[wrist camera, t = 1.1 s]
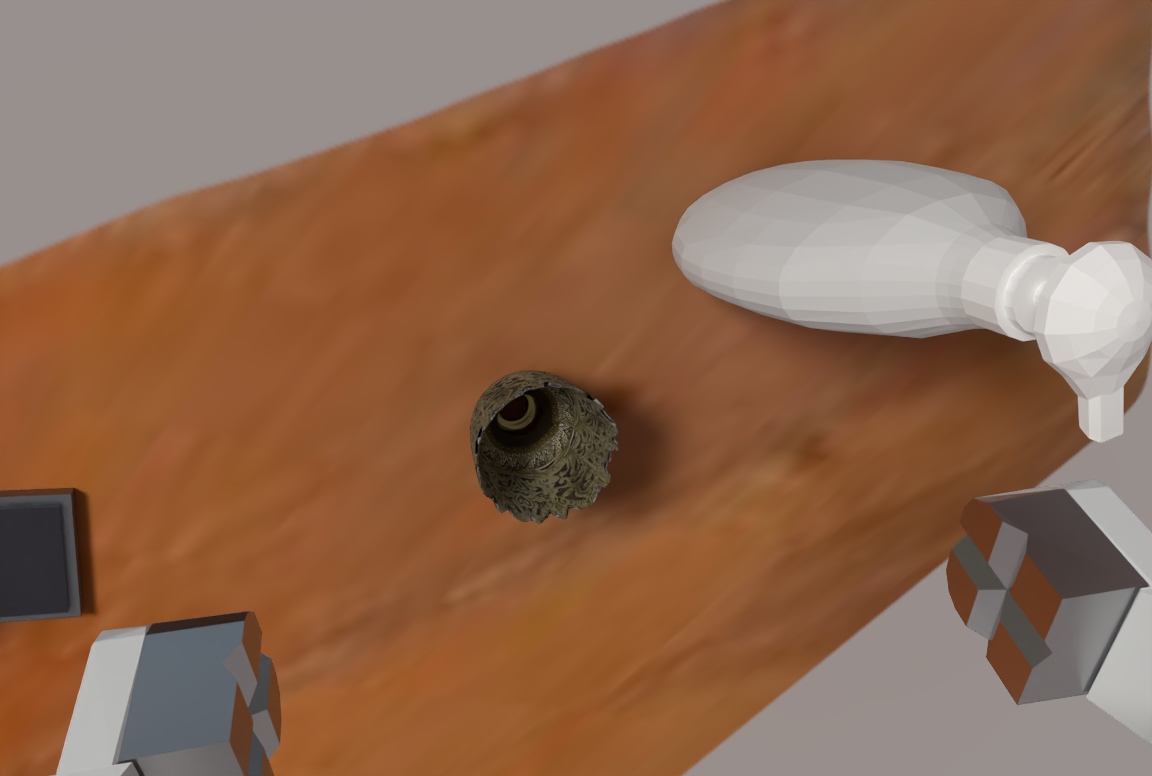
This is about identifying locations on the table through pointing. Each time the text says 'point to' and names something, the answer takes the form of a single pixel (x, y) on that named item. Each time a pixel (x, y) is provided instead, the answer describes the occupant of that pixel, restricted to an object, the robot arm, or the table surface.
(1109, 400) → the soap bottle
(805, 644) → the table surface
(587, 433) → the cup
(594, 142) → the table surface
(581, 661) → the table surface
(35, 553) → the ink pad
